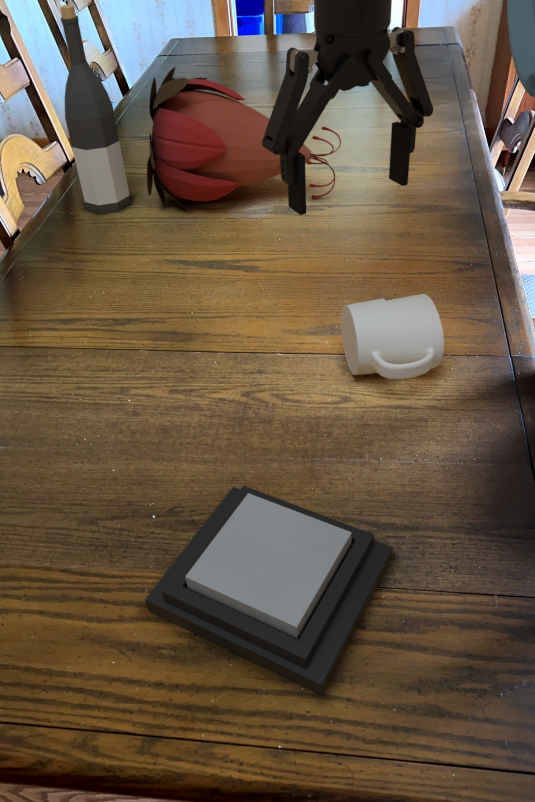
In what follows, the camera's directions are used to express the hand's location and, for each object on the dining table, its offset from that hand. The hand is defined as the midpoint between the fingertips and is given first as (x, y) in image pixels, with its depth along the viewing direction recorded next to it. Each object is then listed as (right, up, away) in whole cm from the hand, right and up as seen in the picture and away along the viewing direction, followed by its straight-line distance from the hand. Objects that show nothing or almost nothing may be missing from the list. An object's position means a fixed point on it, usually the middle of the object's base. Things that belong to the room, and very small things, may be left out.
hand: (349, 195), depth 82 cm
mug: (+5, -20, +1) cm, 21 cm away
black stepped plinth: (-9, -39, -21) cm, 45 cm away
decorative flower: (-13, +12, +40) cm, 44 cm away
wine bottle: (-36, +10, +40) cm, 55 cm away
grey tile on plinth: (-9, -37, -23) cm, 45 cm away
